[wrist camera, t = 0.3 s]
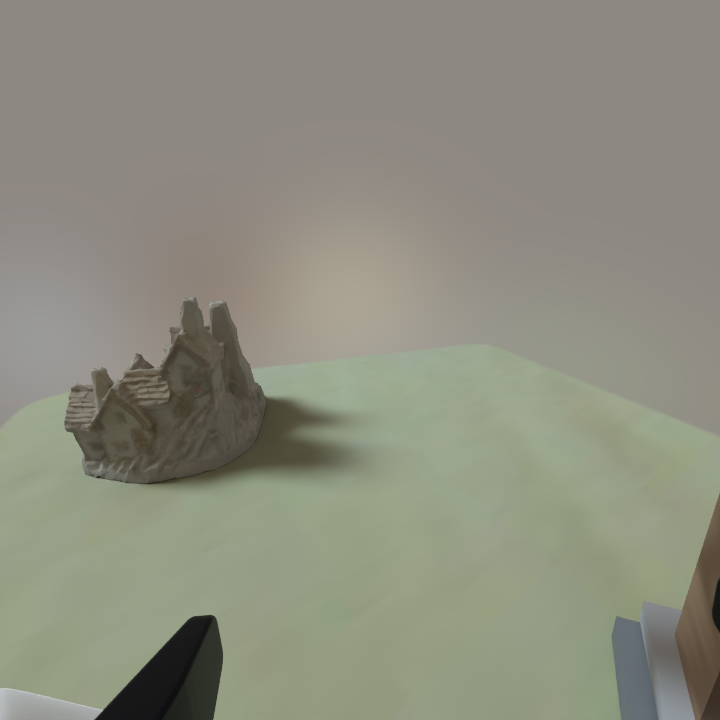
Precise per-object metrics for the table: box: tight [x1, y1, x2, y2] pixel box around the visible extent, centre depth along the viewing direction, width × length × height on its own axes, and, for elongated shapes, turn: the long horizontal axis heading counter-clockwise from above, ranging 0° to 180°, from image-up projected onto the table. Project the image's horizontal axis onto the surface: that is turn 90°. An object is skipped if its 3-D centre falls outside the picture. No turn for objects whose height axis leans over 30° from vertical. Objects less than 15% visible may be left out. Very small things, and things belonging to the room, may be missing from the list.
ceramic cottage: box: [65, 298, 267, 484], centre depth 43 cm, size 16×16×15 cm
